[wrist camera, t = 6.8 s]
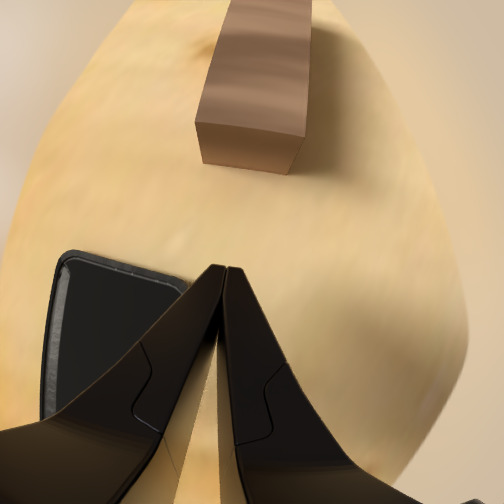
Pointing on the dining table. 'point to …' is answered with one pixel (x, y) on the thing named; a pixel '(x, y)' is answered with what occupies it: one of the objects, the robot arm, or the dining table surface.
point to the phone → (96, 321)
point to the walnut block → (257, 87)
